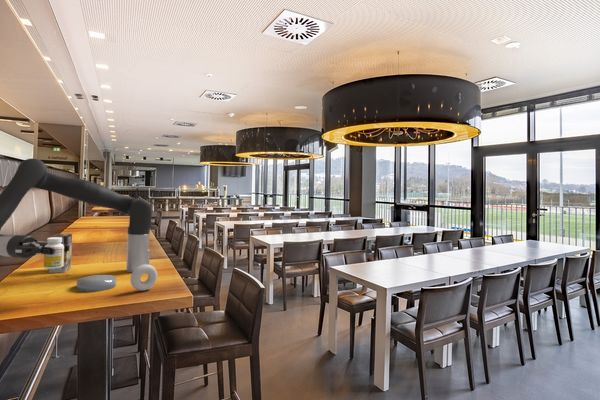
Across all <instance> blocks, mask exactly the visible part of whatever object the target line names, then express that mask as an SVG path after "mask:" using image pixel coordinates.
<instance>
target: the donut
mask: <svg viewBox="0 0 600 400" xmlns="http://www.w3.org/2000/svg"><path fill="white" fill-rule="evenodd" d="M145 274H146V275H147V279H146V280H145V281H141V277H142V276H143V275H145ZM157 280H158V271H157V269H156V268H155V267H154V266H153V265H151V264H149V265H148V264H144V265H140V266H139V267H137V268H136V269H135V270H134V271H133V272H131V274H130V279H129V281H130V285H131V286H132V288H133V289H135V291H142V292H144V291H147V290H149V289H151V288H153V286H154V285H155V284H156V282H157Z"/></svg>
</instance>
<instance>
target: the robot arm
mask: <svg viewBox="0 0 600 400" xmlns="http://www.w3.org/2000/svg"><path fill="white" fill-rule="evenodd" d="M32 188H34V189H39V190H43V191H46V192H47V191H48V192H52V193H55V194H58V195H61V196H64V197H67V198H71V199H73V200H77V201H78V202H79V201H80V202H82V203H84V204H85V203H86V204H89V205H90V206H91V205H92V206H96V207H100V208H107V209H112V210H115V211H119V212H121V213H123V214H126V215H128V216H129V222H128V223H129V224H128V227H127V240H126V242H127V243H126V244H127V245H126V271H125V272H128V273H133V271H134V270H135V269H136V268H137V267H139V266H140V265H144V264H148V265H150V255H151V252H150V231H151V227H152V216H153V215H152V214H153V212H152V211H153V209H152V205H151V203H150V202H149V201H148V200H147V199H146V200H145V199H142V198H137V197H136V198H134V197H131V196H127V195H123V194H121V193H118V192H116V191H114V190H112V189H110V188H108V187H106V186H103V185H102V184H99V183H96V182H93V181H90V180H86V179H84V178H74V177H73V178H72V177H65V176H59V175H56V174H54V173H51V172H49V171H48V167H47V165H46V164H45V163H44V161H42V160H41V159H38V158H27V159H24V160H22V161H21V162H20V163H19V164H18V166H17V168H16V171H15V173H14V175H13V177H12V178H11V179H10V181H9V183H8V184H7V185H6V187H5V188H3V190H2V191H1V192H0V231H1V230H2V228H3V227H4V225H5V224H6V223H7V222H8V220H9V219H10V218H11V217H12V215H13V213H14V212H15V211H16V209H17V208H18V206H19V204H20V203H21V202H22V200H23V198H24V197H25V196H26V194H28V192H29V191H30V190H31V189H32ZM47 244H48V243H47V241H43V240H37V239H36V237H34V236H32V235H27V234H26V235H23V234H0V256H3V257H5V258H6V257H7V258H18V259H19V258H20V259H28V258H30V257H34V256H41V255H44V254H49V255H53V254H54V253H55V249H54V248H52V247H45V245H47ZM61 244H63V242H61ZM63 245H64V251H69V249H70V246H69V245H66V244H63Z"/></svg>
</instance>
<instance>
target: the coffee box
mask: <svg viewBox="0 0 600 400" xmlns="http://www.w3.org/2000/svg"><path fill="white" fill-rule="evenodd" d="M52 237H61V238H62V242H63V244H66V245H69V246H70V249H69V251H64V266H63V267H61V268H55V269H48V272H49V274H53V273H55V274H58V273H67V272H68V271H69V270H71V269H72V247H73V246H72V243H73V233H55V234H52V235H50V236H49V238H52Z"/></svg>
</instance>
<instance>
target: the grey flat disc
mask: <svg viewBox="0 0 600 400" xmlns="http://www.w3.org/2000/svg"><path fill="white" fill-rule="evenodd" d="M116 286H117V276H115V275H111V274H94V275H88V276H84V277H79V278H77V279H76V290H77V291H78V292H87V293H88V292H91V293H96V292H102V291H107V290H111V289H114V288H115V287H116Z"/></svg>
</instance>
